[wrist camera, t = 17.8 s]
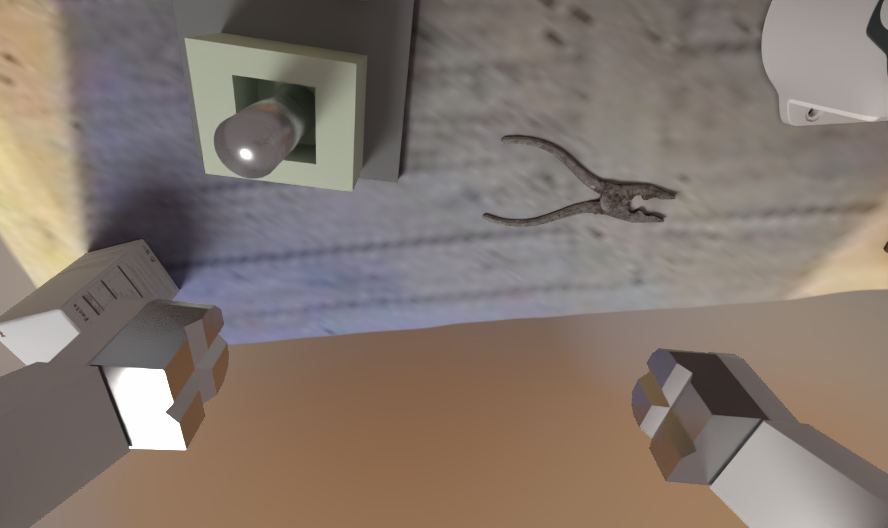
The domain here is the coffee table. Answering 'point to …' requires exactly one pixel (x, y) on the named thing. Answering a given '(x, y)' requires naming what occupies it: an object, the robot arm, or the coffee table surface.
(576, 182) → the coffee table surface
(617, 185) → the pliers
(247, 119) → the grey cylindrical peg
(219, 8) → the mat
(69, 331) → the supplement box
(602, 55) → the coffee table surface
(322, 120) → the frame
